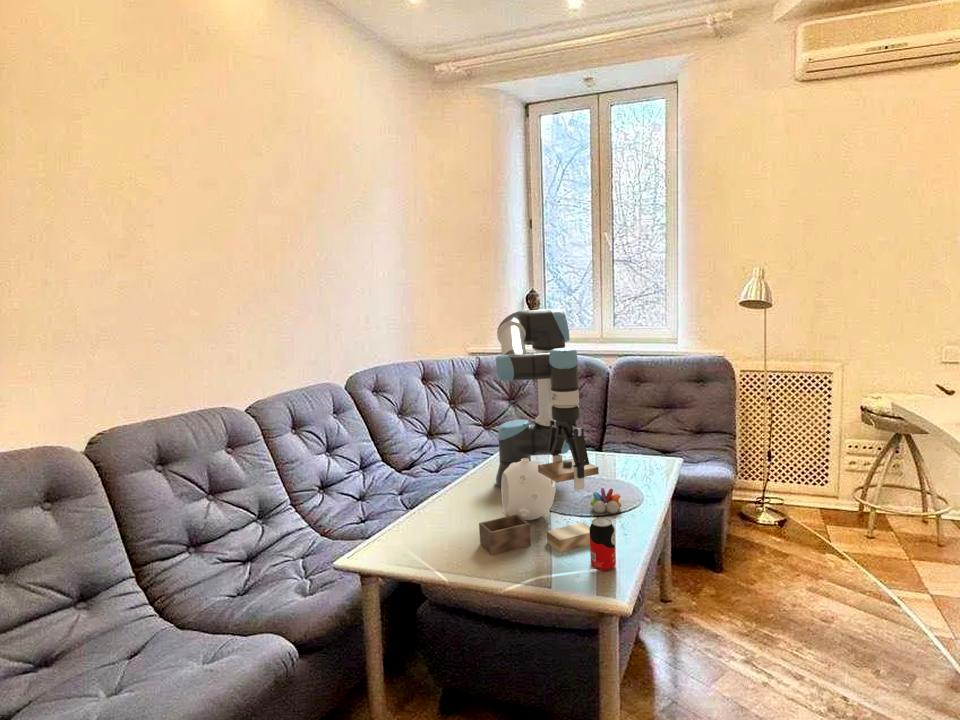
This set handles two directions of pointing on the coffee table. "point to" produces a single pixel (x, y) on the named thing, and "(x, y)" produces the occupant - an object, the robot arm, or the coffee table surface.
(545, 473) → the lid
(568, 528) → the light wooden block
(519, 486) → the decorative ball
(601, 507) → the rainbow disc baby toy
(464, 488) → the coffee table surface
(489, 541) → the box
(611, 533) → the beverage can
